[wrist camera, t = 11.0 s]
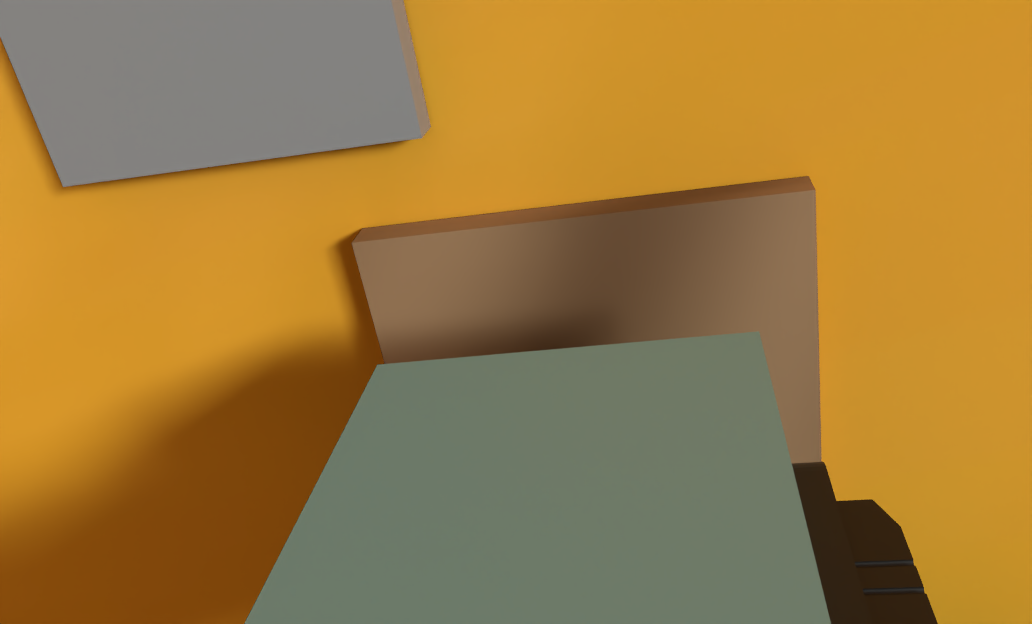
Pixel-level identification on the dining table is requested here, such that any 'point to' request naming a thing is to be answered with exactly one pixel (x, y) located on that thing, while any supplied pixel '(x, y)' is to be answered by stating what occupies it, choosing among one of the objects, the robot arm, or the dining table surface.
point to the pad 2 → (612, 282)
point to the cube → (557, 495)
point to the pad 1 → (210, 80)
